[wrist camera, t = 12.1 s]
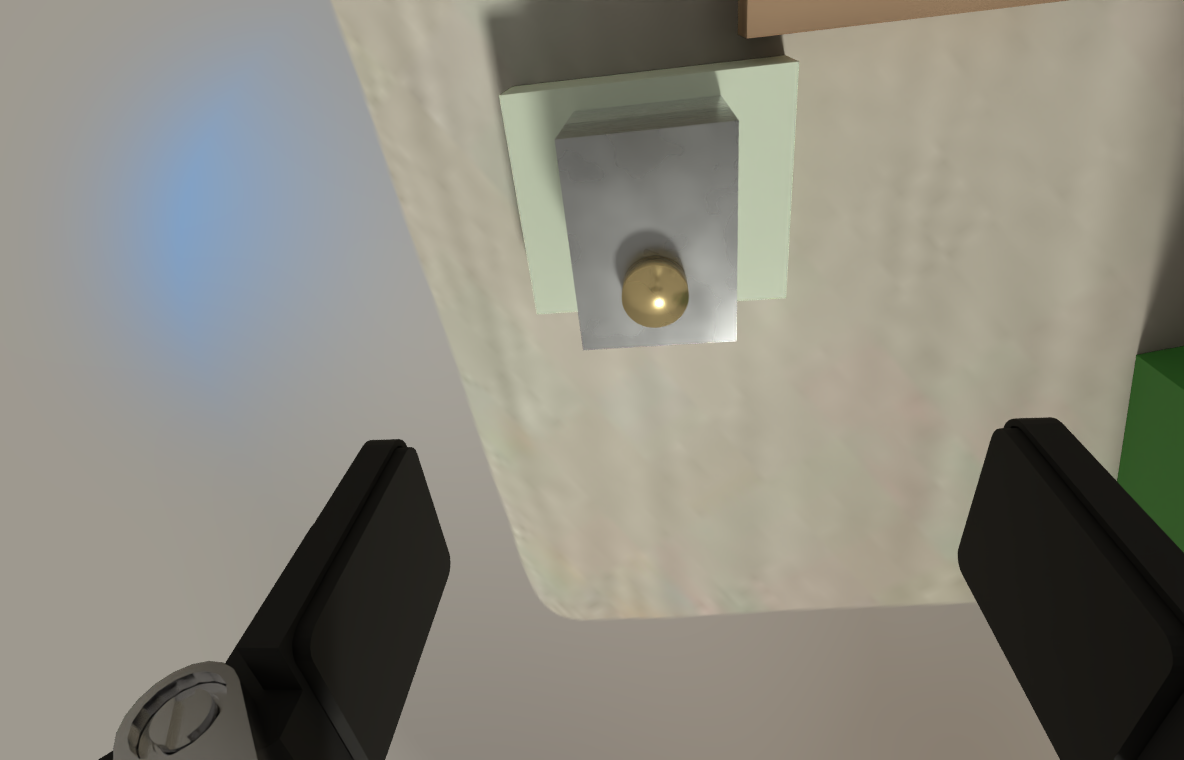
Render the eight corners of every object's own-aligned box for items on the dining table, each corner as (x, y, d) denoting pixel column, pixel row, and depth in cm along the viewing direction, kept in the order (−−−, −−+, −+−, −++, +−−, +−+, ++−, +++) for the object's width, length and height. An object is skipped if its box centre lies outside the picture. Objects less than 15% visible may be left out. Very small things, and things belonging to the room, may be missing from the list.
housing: (573, 111, 26) (550, 145, 20) (721, 95, 25) (742, 126, 19) (594, 289, 30) (580, 362, 24) (721, 280, 29) (739, 353, 23)
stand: (512, 86, 28) (498, 95, 26) (785, 55, 27) (799, 61, 24) (545, 290, 33) (536, 314, 31) (775, 273, 32) (785, 297, 29)
